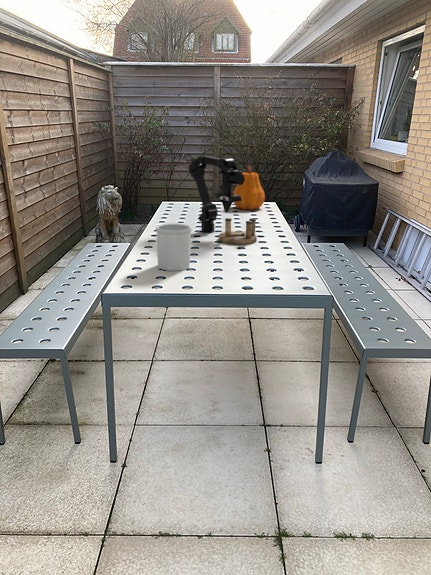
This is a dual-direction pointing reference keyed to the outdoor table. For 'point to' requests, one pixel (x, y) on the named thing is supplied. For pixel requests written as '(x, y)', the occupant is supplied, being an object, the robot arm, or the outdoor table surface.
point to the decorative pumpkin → (250, 192)
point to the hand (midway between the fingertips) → (226, 212)
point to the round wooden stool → (241, 240)
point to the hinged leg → (228, 228)
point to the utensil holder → (173, 246)
